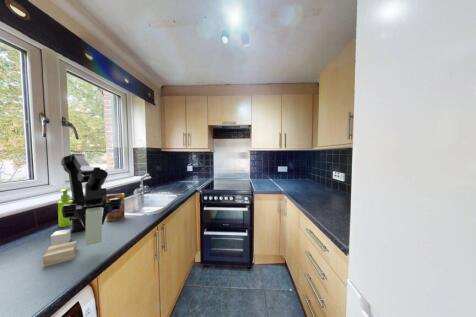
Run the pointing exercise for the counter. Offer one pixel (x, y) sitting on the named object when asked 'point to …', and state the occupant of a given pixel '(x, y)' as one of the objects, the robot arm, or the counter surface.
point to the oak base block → (60, 253)
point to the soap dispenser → (64, 201)
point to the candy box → (116, 213)
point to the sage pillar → (93, 226)
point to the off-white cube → (60, 237)
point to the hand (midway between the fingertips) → (94, 226)
